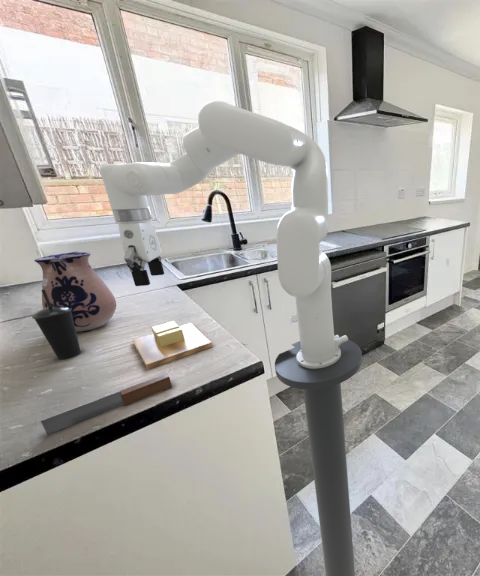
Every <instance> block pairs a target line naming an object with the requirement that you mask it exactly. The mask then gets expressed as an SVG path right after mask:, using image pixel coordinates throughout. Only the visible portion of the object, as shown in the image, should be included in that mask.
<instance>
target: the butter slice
mask: <svg viewBox="0 0 480 576" xmlns="http://www.w3.org/2000/svg"><path fill="white" fill-rule="evenodd" d="M157 337H158V340H159V344H160V346H161V347H163V346H166V345H170V344H173V343H176V342H179V341H182V340H185V339H184V335H183V331H182V329H181V328H177V329H173V330H170V331H167V332H163V333H160V334H157Z"/></svg>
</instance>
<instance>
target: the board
mask: <svg viewBox="0 0 480 576" xmlns="http://www.w3.org/2000/svg"><path fill="white" fill-rule="evenodd" d="M178 326H179V328H181V329H182V331H183V335H184V339H185V340H182V341H179V342H176V343H173V344H170V345H166V346H163V347H161V346H160V344H159V343H158V342H157V340H156V339H155V337H154V335H153V333H151V334H147V335H144V336H140V337H136V338H133V339H132V343H133V346H134V347H135V349H136V351H137V353H138V354H139V357H140V358H141V360H142V362H143V364H144V366H145V367H146V369H147V370H150V369H153V368H156V367H159V366H161V365H164V364H168V363H170V362H174V361H176V360H179V359H181V358H184V357H187V356H190V355H192V354H195V353H198V352H202V351H204V350H207V349H209V348H212V347H213V343H212V341H211V340H210V339H209V338H208V337H207V336H205V335H204V334H203V333H202V332H201V331H200V330H199V329H198V328H197V327H196V326H195V325H194V324H193V323H192V322H189V323H185V324H182V325H178Z"/></svg>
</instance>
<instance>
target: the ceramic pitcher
mask: <svg viewBox="0 0 480 576" xmlns="http://www.w3.org/2000/svg"><path fill="white" fill-rule="evenodd" d="M90 256H91V252H83V251H81V252H80V251H78V250H76V251H71V252H64V253H59V254H51V255H47V256H42V257H38V258H35V259H34V260H33V261H34V262H35V263H36V264H38V265H39V266H40V267H41V268H40V269H41V270H42V271H41V272H42V284H41V287H42V288H41V290H45V291H46V294H47V296H48V298H49V301H50V303H51V306H52V307H53V306H68V307H71V308H72V310H71V313H72V317H73V321H74V325H75V329H76V333H78V332H85V331H91V330H95V329H98V328H100V327H103V326H105V325H106V324H107V323H109V321H111V319H112V318H113V316H114V314H115V312H116V309H117V301H116V298H115V296H114V294H113V292H112V291H111V289H110V288H109V286H108V285H107V284H106V283H105V281H104V280H103V279H102V278H101V277H100V276H99V274H98V273H97V272H96V271H95V270H94V268H93V267H92V265H91V264H90V262H89V258H90ZM41 305H42V309H45V308H48V305H47V303H46V301H45V298H44V296H43V293H42V292H41Z"/></svg>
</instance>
